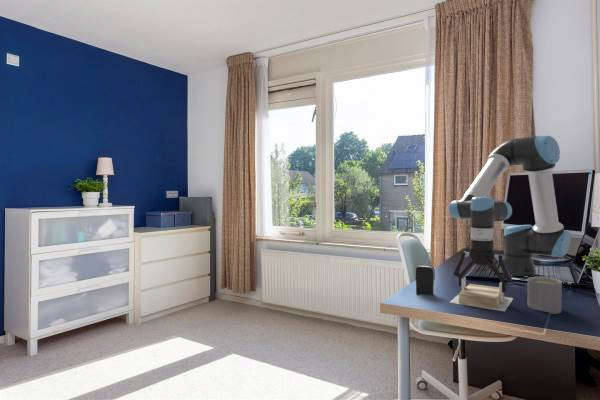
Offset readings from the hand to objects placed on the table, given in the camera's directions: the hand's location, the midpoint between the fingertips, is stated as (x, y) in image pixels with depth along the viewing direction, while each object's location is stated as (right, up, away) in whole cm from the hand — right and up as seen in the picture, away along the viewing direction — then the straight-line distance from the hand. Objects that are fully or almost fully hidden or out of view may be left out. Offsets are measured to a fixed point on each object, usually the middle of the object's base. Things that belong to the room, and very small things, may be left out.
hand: (481, 298), depth 143 cm
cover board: (0, -1, 0) cm, 1 cm away
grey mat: (0, -1, 0) cm, 1 cm away
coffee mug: (+18, -2, -7) cm, 20 cm away
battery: (-17, -1, +10) cm, 20 cm away
